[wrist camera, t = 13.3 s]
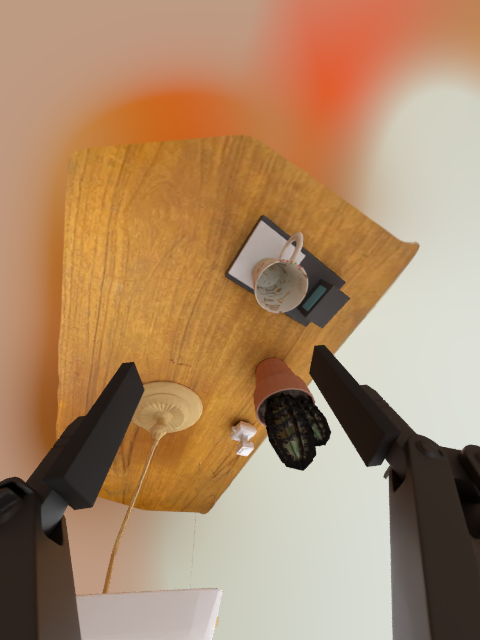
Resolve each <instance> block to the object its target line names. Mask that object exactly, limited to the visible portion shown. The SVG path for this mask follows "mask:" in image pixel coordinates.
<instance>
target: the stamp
mask: <svg viewBox="0 0 480 640" xmlns="http://www.w3.org/2000/svg"><path fill="white" fill-rule="evenodd" d="M231 429H232V432H231V433H230V438H231V439H234V440H237V441H240V443H239V444H238V445H237V449H236V454H239V455H243V456H248V454H249V453H250V452H251V451H252V450H253V449H254V444H252V442H249V441H248V440H249V439H250V438H251V437H253V436H254V434H255V433H256V431H257V429H256V428H255V427H254V426H252V425H251V424H249V423H246V422H243V421H240V422H239V423H238V424H237V425H236V426H232V427H231Z"/></svg>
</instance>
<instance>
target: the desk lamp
mask: <svg viewBox="0 0 480 640" xmlns="http://www.w3.org/2000/svg"><path fill="white" fill-rule="evenodd" d="M143 387H144V389H145V391H144V393H143V395H142V397H141V400H140V402H139V404H138V406H137V408H136V411H135V413H134V415H133V417H132V420H131V421H132V422H133V423H134V424H136V425H137V426H139V427H141V428H143V429H145V430H147V431H151V435H152V436H153V440H154V441H153V442H152V448H151V451H150V453H149V456H148V459H147V461H146V464H145V466H144V469H143V472H142V474H141V477H140V479H139V482H138V485H137V487H136V490H135V492H134V495H133V498H132V500H131V503H130V505H129V508H128V511H127V513H126V516H125V518H124V521H123V523H122V526H121V529H120V531H119V534H118V536H117V539H116V542H115V545H114V548H113V551H112V554H111V558H110V563H109V567H108V572H107V576H106V581H105V585H104V589H103V594H90V595H76V602H77V609H78V617H79V624H80V632H81V639H82V640H212V638H213V634H214V629H215V628H216V626H217V625H218V616H217V614H218V610H219V605H220V601H221V597H222V592H223V591H222V590H220V589H217V588H202V589H183V590H163V591H145V592H127V593H108V589H109V584H110V579H111V574H112V570H113V565H114V560H115V556H116V553H117V550H118V547H119V543H120V540H121V537H122V535H123V532H124V529H125V527H126V524H127V521H128V519H129V516H130V513H131V511H132V508H133V505H134V503H135V500H136V497H137V495H138V492H139V489H140V487H141V484H142V481H143V479H144V476H145V473H146V471H147V468H148V465H149V463H150V460H151V457H152V455H153V452H154V449H155V447H156V446H157V445H158V441H159V440H160V438H161V437H163V436H164V435H165V434H166V433H171V432H176V431H180V430H184V429H186V428H188V427H190V426H192V425H193V424H194V423H195V422H196V421H197V420H198V419H199V418H200V416H201V414H202V409H203V406H202V402H201V399H200V398H199V396H198V395H197V394H196V393H195V392H194V391H192V390H191V389H190V388H188V387H186V386H184V385H182V384H178V383H174V382H167V381H158V382H151V383H146V384H143ZM200 465H201V462H199V469H200ZM198 482H199V480H198ZM197 495H198V493H197ZM196 508H197V506H196Z"/></svg>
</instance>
